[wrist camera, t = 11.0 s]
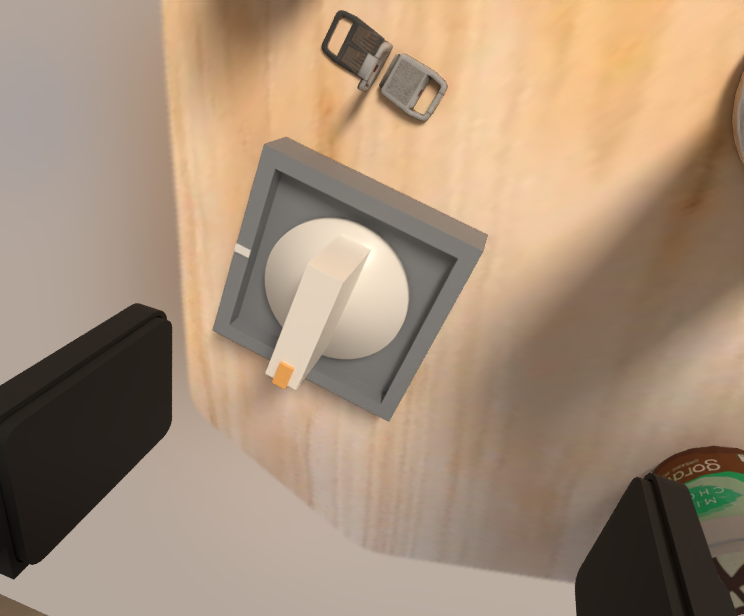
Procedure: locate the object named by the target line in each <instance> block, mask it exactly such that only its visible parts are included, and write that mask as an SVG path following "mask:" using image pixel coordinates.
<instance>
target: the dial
mask: <svg viewBox="0 0 744 616" xmlns="http://www.w3.org/2000/svg"><path fill="white" fill-rule="evenodd" d="M265 290H266V295H267V299H268V302H269V305H270V307H271V310H272V312H273V314H274V315H275V317H276V319H277V320H278V322H279V323H280V325H281V326H282V327H283V329H282V331H281V334H280V337H279V339H278V342H277V344H276V347H275V350H274V352H273V355H272V357H271V360H270V363H269V365H268V368H267V370H266V373H265V374H267V375H269V376H271V377H272V378H274V379H273V381H272V383H274V384H276V385H277V386H279V387H281V388H283V389H286V387H287V386H289V387H291V388H293V389H295V390H297V389H298V387H299V386H300V385H301V383H302V382H303V381H304V379H305V378H306V376H307V375H308V374H309V372H310V371H311V369H312V368H313V367H314V365H315V364H316V362H317V361H318V360H319V358H320V357H321V355H323V356H326V357H331V358H336V359H357V358H362V357H366V356H369V355H372V354H374V353H376V352H378V351H380V350H381V349H383V348H384V347H385V346H387V345H388V344H389V343H390V342H391V341H392V340H393V339H394V338H395V336H396V335H397V333H398V332H399V330H400V329H401V327H402V325H403V323H404V320H405V318H406V316H407V312H408V309H409V303H410V286H409V280H408V276H407V273H406V270H405V267H404V265H403V263H402V261H401V259H400V257H399V256H398V254H397V253H396V251H395V250H394V249H393V247H392V246H391V245H390V244H389V243H388V242H387V241H386V240H385V239H384V238H383V237H382V236H381V235H379V234H378V233H377V232H376V231H374V230H373V229H371V228H369V227H368V226H366V225H364V224H361V223H359V222H357V221H354V220H350V219H347V218H341V217H318V218H314V219H310V220H308V221H305V222H303V223H301V224H299V225H297V226H296V227H294V228H293V229H291V230H290V231H288V232H287V233H286V234H285V235H284V236H282V237H281V238H280V240H279V241H278V242H277V243H276V244H275V246H274V248H273V249H272V251H271V253H270V255H269V258H268V260H267V264H266V269H265Z"/></svg>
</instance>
